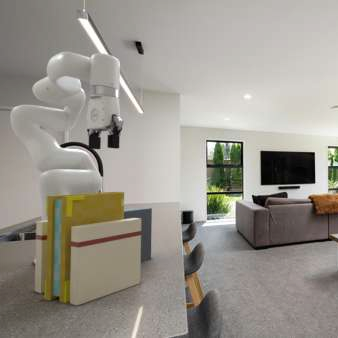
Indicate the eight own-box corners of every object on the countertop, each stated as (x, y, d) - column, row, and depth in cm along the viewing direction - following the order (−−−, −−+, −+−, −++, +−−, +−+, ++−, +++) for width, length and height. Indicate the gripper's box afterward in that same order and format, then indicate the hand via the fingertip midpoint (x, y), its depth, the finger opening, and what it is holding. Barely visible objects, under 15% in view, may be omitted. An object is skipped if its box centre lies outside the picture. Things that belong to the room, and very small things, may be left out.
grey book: (103, 269, 91) (104, 212, 91) (145, 257, 104) (146, 207, 104) (108, 270, 90) (110, 213, 90) (151, 258, 103) (151, 208, 103)
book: (65, 302, 68) (67, 196, 68) (44, 299, 69) (46, 195, 70) (128, 277, 84) (130, 192, 85) (110, 275, 86) (112, 191, 86)
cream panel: (69, 303, 68) (70, 226, 68) (133, 281, 81) (134, 217, 82) (76, 305, 66) (78, 227, 67) (140, 283, 80) (141, 218, 80)
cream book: (34, 291, 74) (35, 221, 74) (99, 272, 88) (100, 213, 88) (40, 293, 73) (42, 222, 73) (105, 274, 87) (106, 214, 87)
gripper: (75, 94, 91) (74, 148, 91) (109, 88, 84) (107, 146, 84) (101, 100, 98) (100, 150, 98) (134, 95, 91) (133, 148, 91)
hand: (103, 148), depth 91 cm, fingers open, 9 cm apart
